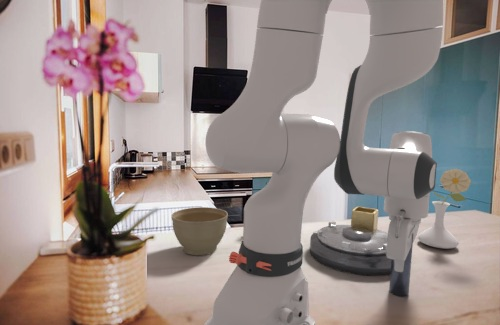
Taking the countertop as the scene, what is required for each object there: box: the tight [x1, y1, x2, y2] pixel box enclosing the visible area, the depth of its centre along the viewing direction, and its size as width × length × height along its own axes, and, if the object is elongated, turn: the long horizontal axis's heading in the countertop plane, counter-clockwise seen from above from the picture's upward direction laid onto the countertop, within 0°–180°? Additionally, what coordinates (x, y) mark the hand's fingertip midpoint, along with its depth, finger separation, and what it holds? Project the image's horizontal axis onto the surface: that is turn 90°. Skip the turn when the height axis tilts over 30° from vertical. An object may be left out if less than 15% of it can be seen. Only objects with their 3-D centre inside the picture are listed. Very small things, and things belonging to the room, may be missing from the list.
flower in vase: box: [417, 168, 472, 250], centre depth 104 cm, size 13×11×25 cm
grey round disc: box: [317, 206, 388, 256], centre depth 95 cm, size 22×22×7 cm
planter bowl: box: [171, 206, 229, 256], centre depth 97 cm, size 16×16×11 cm
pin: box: [388, 234, 414, 298], centre depth 74 cm, size 4×4×14 cm
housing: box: [309, 230, 392, 277], centre depth 96 cm, size 26×26×4 cm
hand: (400, 266), depth 74 cm, fingers closed on pin, 4 cm apart
